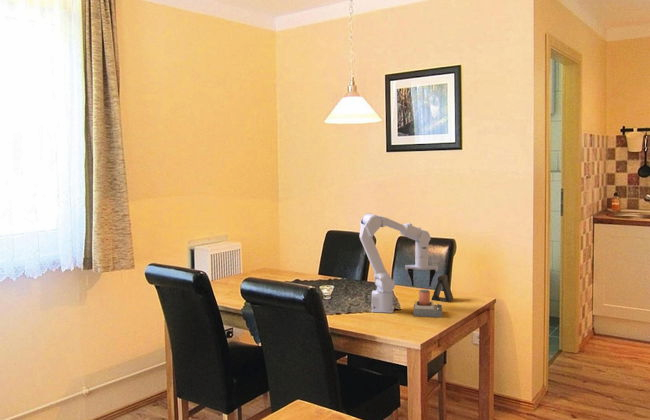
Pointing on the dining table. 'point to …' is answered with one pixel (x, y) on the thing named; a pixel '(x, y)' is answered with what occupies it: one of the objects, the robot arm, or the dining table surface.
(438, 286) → the phone stand
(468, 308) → the dining table surface
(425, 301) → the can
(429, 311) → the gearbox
